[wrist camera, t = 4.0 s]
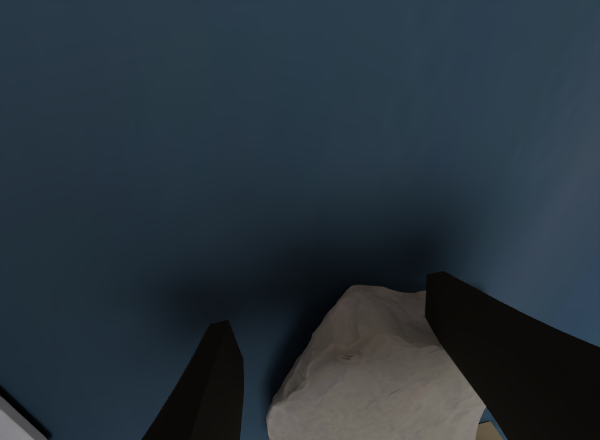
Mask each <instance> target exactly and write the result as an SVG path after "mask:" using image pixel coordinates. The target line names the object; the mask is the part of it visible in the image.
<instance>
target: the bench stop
mask: <svg viewBox="0 0 600 440" xmlns="http://www.w3.org/2000/svg"><path fill="white" fill-rule="evenodd" d="M476 440H503V439H502V437H501V436H500V434H499V433H498V432H497V430H496V429H495V427H494V426H493V424H492V423H491V422H490V421H489V422H485V423H482V424H478V427H477V432H476Z"/></svg>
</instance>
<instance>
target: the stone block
mask: <svg viewBox="0 0 600 440" xmlns="http://www.w3.org/2000/svg"><path fill="white" fill-rule="evenodd" d="M425 300H426V291H419V292H416V293H402V292H399V291H395V290H390V289H388V288H385V287H381V286H367V285H353V286H351V287H349V288H348V289H347V290H346V291H345V293H344V294H343V295H342V297H341V298H340V299H339V300H338V301H337V303H336V305H335V306H334V307H333V308H332V309H331V310H330V311H329V312H328V313H327V314H326V315H325V317H324V319H323V321H322V323H321V324H320V325H319V327H318V328H317V329H316V330H315V331H314V333H313V334H312V338H311V340H310V342H309V344H308V346H307V347H306V349H305V350H304V351H303V353H302V354H301V355H300V356H299V357H298V358H297V360H296V361H295V363H294V365H293V367H292V369H291V371H290V372H289V373H288V375H287V376H286V377H285V380H284V381H283V384H282V386H281V388H280V389H279V391H278V392H277V393H276V394H275V396H274V397H273V400H272V403H271V405H270V406H269V410H268V413H267V417H266V421H267V429H268V436H269V440H476V432H477V427H478V423H479V421H480V418H481V415H482V413H483V411H484V409H485V408H486V406H485V404H484V403H483V401H482V400H481V399H480V397H479V396H478V395H477V393H476V392H475V391H474V389H473V388H472V387H471V385H470V384H469V382H468V381H467V380H466V378H465V377H464V376H463V374H462V373H461V372H460V370H459V369H458V368H457V366H456V365H455V363H454V362H453V361H452V359H451V358H450V357H449V355H448V354H447V352H446V351H445V350H444V348H443V347H442V345H441V344H440V343H439V341H438V339H437V337H436V336H435V334H434V332H433V331H432V329H431V327H430V325H429V323H428V322H427V320H426V318H425Z"/></svg>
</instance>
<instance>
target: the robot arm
mask: <svg viewBox="0 0 600 440" xmlns="http://www.w3.org/2000/svg"><path fill="white" fill-rule="evenodd" d="M425 318H426V320H427V322H428V323H429V325H430V327H431V329H432V331H433V332H434V334H435V336H436V337H437V339H438V341H439V343H440V344H441V345H442V347H443V348H444V350H445V351H446V352H447V354H448V355H449V357H450V358H451V359H452V361H453V362H454V363H455V365H456V366H457V368H458V369H459V370H460V372H461V373H462V374H463V376H464V377H465V378H466V380H467V381H468V382H469V384H470V385H471V387H472V388H473V389H474V391H475V392H476V393H477V395H478V396H479V397H480V399H481V400H482V401H483V403H484V404H485V406H486V407H487V408H488V410H489V411H490V413H491V414H492V416H493V417H494V419H495V420H496V422H497V423H498V425H499V426H500V428H501V430H502V431H503V433H504V434H505V436H506V438H507V439H508V440H600V347H598V346H595V345H593V344H590V343H588V342H586V341H583V340H581V339H578V338H576V337H574V336H571V335H569V334H567V333H564V332H562V331H560V330H558V329H555V328H553V327H551V326H549V325H547V324H545V323H543V322H541V321H538V320H536V319H534V318H532V317H530V316H528V315H526V314H524V313H522V312H520V311H518V310H516V309H514V308H512V307H510V306H508V305H506V304H504V303H502V302H500V301H498V300H496V299H495V298H493V297H491V296H489V295H487V294H485V293H483V292H481V291H480V290H478V289H476V288H474V287H472V286H470V285H468V284H467V283H465V282H463V281H461V280H459V279H457V278H455V277H454V276H452V275H450V274H448V273H446V272H444V271H442V272H437V273H433V274H429V275H427V283H426V300H425ZM243 395H244V369H243V357H242V354H241V352H240V349H239V347H238V344H237V342H236V339H235V336H234V334H233V331H232V329H231V326H230V323H229V321H228V320H226V321H221V322H217V323H212V324H210V326H209V327H208V329H207V331H206V333H205V334H204V336H203V338H202V340H201V342H200V344H199V346H198V348H197V349H196V351H195V353H194V355H193V357H192V359H191V360H190V362H189V364H188V366H187V367H186V369H185V371H184V373H183V374H182V376H181V378H180V380H179V381H178V383H177V385H176V386H175V388H174V390H173V391H172V393H171V395H170V396H169V398H168V399H167V401H166V403H165V404H164V406H163V407H162V409H161V411H160V412H159V414H158V415H157V417H156V418H155V420H154V422H153V423H152V425H151V426H150V428H149V429H148V431H147V432H146V434H145V435H144V437H143V438H142V439H141V440H240V431H241V420H242V408H243ZM0 440H48V439H47V438H46V437H45V436H44V435H43V434H41V433H40V432H39V431H38V430H37V429H36V428H35V427H34V426H33V425H32V424H31V423H30V422H28V421H27V420H26V419H25V418H24V417H23V416H22V415H21V414H20V413H19V412H18V411H17V410H15V409H14V408H13V407H12V406H11V405H10V404H9V403H8V402H7V401H6V400H5V399H4V398H2V397H1V396H0Z"/></svg>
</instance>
